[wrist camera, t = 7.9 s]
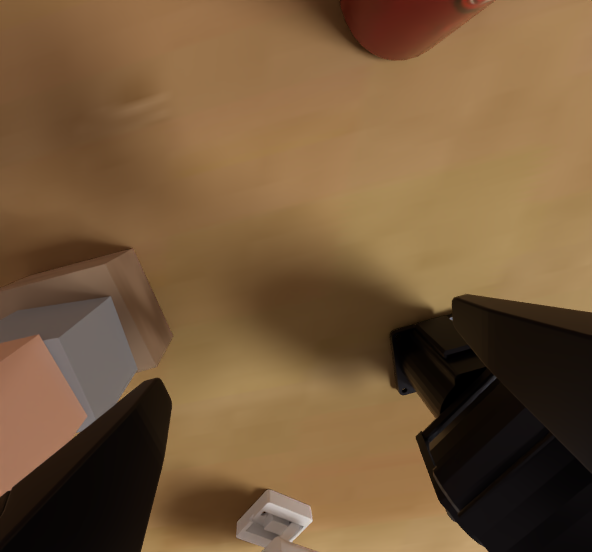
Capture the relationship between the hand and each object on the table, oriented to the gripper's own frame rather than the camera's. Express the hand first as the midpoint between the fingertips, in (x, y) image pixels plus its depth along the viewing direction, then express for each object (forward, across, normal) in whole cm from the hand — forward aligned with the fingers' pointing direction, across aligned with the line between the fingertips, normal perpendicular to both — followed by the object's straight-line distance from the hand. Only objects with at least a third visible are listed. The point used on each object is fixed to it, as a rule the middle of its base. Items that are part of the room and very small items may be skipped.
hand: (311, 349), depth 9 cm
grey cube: (+9, +13, +1) cm, 16 cm away
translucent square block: (+13, +13, +1) cm, 18 cm away
